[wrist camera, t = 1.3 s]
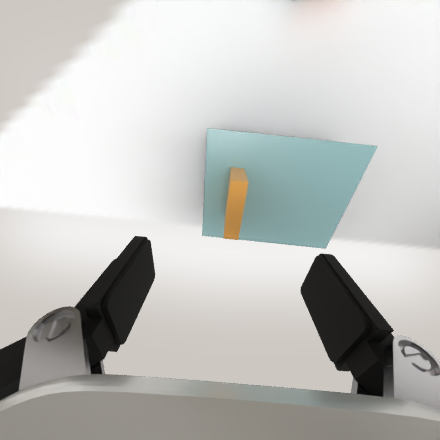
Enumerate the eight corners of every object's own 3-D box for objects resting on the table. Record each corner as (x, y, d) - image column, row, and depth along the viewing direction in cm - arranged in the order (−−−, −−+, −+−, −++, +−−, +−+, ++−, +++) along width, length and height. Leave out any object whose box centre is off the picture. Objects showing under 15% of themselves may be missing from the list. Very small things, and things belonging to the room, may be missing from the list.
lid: (367, 144, 18) (428, 154, 13) (320, 242, 25) (347, 277, 19) (208, 128, 18) (199, 130, 13) (203, 230, 25) (195, 261, 19)
